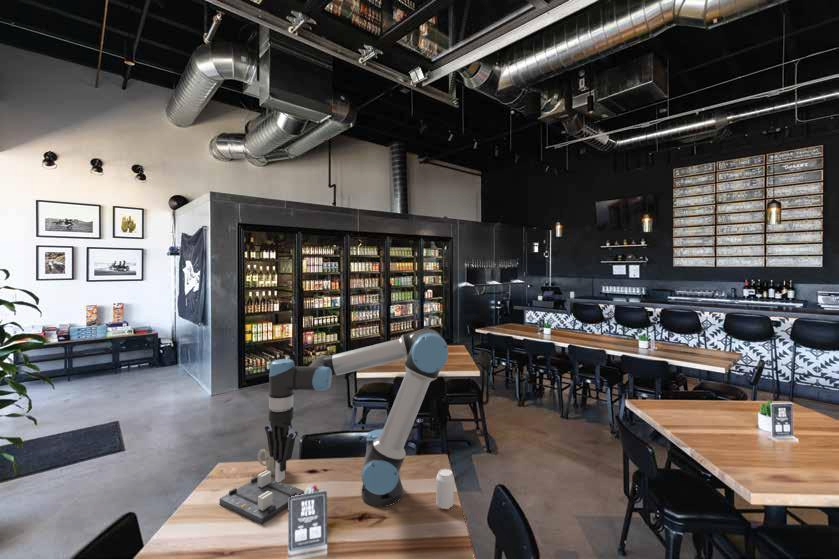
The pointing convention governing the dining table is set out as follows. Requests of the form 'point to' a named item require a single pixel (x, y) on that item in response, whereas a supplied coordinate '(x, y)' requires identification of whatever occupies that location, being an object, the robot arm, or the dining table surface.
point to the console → (247, 499)
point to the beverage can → (444, 488)
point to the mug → (267, 460)
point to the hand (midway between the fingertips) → (280, 479)
